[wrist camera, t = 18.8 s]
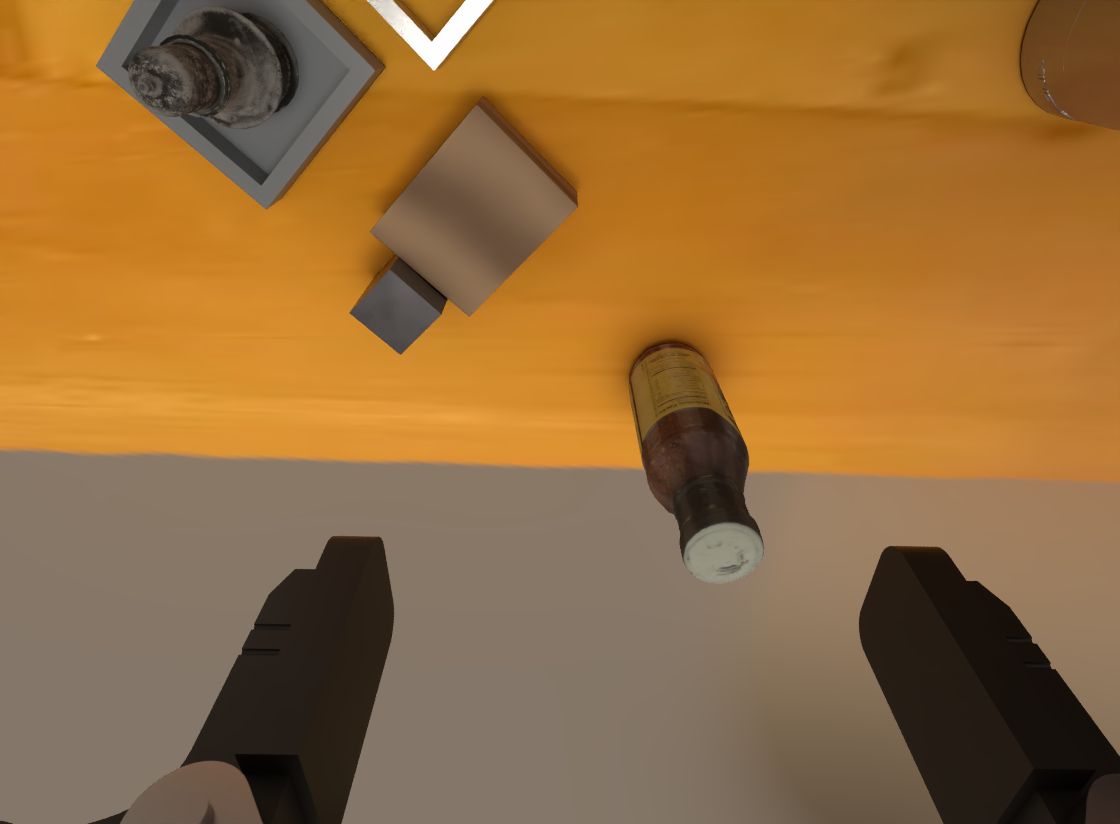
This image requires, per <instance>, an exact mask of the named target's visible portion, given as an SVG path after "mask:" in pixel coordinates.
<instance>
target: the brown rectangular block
mask: <svg viewBox="0 0 1120 824" xmlns="http://www.w3.org/2000/svg"><path fill="white" fill-rule="evenodd" d="M577 207H578V203H577V192H576V191H575V190H574V189H573V188H572V187H571V186H570V185H569V184H568V183H567V182H566V181H565V180H564V179H563V178H562V176H561V175H560V174H559V173H558V172H557V171H556V170H555V169H554V168H553V167H552V166H551V165H550V164H549V163H548V162H547V161H546V160H545V159H544V158H543V157H542V156H541V155H540V154H539V153H538V152H537V151H536V150H535V149H534V148H533V147H532V146H531V145H530V144H529V143H528V142H527V141H526V140H525V139H524V138H523V137H522V135H521V134H520V133H519V132H518V131H517V130H516V129H515V128H514V127H513V126H512V125H511V124H510V123H509V122H508V121H507V120H506V119H505V118H504V117H503V116H502V115H501V114H500V113H499V112H498V111H497V110H496V109H495V108H494V107H493V106H492V105H491V104H490V103H489V102H488V101H487V100H486V99H485V98H484V97H482V99H481V100H480V101H479V102H478V103H477V104H476V106H475V107H474V108H473V109H472V110H471V112H470V113H469V114H468V115H467V116H466V117H465V119H464V120H463V121H462V122H461V123H460V125H459V126H458V127H457V128H456V129H455V131H454V132H453V133H452V134H451V135H450V137H449V138H448V139H447V140H446V141H445V143H444V144H443V145H442V146H441V147H440V148H439V150H438V151H437V152H436V153H435V154H434V156H433V157H432V158H431V159H430V160H429V162H428V163H427V164H426V165H425V166H424V168H423V169H422V170H421V171H420V172H419V173H418V175H417V176H416V177H415V178H414V179H413V181H412V182H411V183H410V184H409V185H408V187H407V188H406V189H405V190H404V191H403V193H402V194H401V195H400V196H399V197H398V198H397V200H396V201H395V202H394V203H393V204H392V206H391V207H390V208H389V209H388V210H387V212H386V213H385V214H384V215H383V216H382V218H381V219H380V220H379V221H378V222H377V223H376V225H375V226H374V227H373V228H372V229H371V231H370V233H372V234H373V235H374V236H375V237H376V238H378V239H379V240H380V241H381V242H382V243H383V244H385V245H386V246H387V247H388V248H389V249H390V250H392V251H393V252H394V253H395V254H396V255H397V256H399V257H400V258H401V259H402V260H403V261H404V262H406V263H407V264H408V265H409V266H410V267H411V268H413V269H414V270H415V271H416V272H417V273H418V274H420V275H421V276H422V277H423V278H424V279H426V280H427V281H428V282H429V283H430V284H431V285H433V286H434V287H435V288H436V289H437V290H438V291H440V292H441V293H442V294H443V295H444V296H445V297H447V298H448V299H449V300H450V301H451V302H452V303H454V304H455V305H456V306H457V307H458V308H459V309H461V310H462V311H463V312H464V313H465V314H466V315H468V316H469V317H470V316H471V315H472V314H473V313H474V312H475V311H476V310H477V309H478V308H479V307H480V306H481V305H482V304H483V302H484V301H485V300H486V299H487V298H488V297H489V296H490V295H491V294H492V293H493V292H494V291H495V290H496V289H497V288H498V287H499V286H500V285H501V284H502V283H503V282H504V281H505V280H506V279H507V278H508V277H509V276H510V275H511V274H512V273H513V272H514V271H515V270H516V269H517V268H518V267H519V266H520V265H521V264H522V263H523V262H524V261H525V260H526V259H527V258H528V257H529V256H530V255H531V254H532V253H533V252H534V251H535V250H536V249H537V248H538V247H539V246H540V245H541V244H542V243H543V242H544V241H545V240H546V239H547V238H548V237H549V236H550V235H551V234H552V233H553V232H554V231H555V230H556V229H557V228H558V227H559V225H560V224H561V223H562V222H563V221H564V220H565V219H566V218H567V217H568V216H569V215H570V214H571V213H572V212H573V211H574V210H575V209H576V208H577Z"/></svg>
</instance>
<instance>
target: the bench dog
mask: <svg viewBox="0 0 1120 824" xmlns="http://www.w3.org/2000/svg"><path fill="white" fill-rule="evenodd" d="M447 299H448V298H447V297H445V296H444V295H443V294H442V293H441V292H440V291H438V290H437V289H436V288H435V287H434V286H433V285H431V284H430V283H429V282H428V281H427V280H426V279H424V278H423V277H422V276H421V275H420V274H418V273H417V272H416V271H415V270H414V269H413V268H411V267H410V266H409V265H408V264H407V263H406V262H404V261H403V260H402V259H401V258H400V257H399V256H397V255H396V254H395V256H394V257H393V258H392V259H391V260H390V261H389V262H388V263H387V264H386V265H385V266H384V268H383V269H382V270H381V271H380V272H379V273H378V274H377V275H376V276H375V277H374V278H373V280H372V281H371V283H370V284H369V286H368V287H367V288H366V290H365V291H364V293H363V294H362V296H361V297H360V298H359V300H358V301H357V303H356V304H355V306H354V307H353V309H352V310H351V311H350V314H351V315H353V316H354V317H355V318H356V319H357V320H359V321H360V322H361V323H362V324H363V325H365V326H366V327H367V328H368V329H370V330H371V331H372V332H373V333H374V334H376V335H377V336H378V337H379V338H381V339H382V340H383V341H384V342H385V343H387V344H388V345H389V346H390V347H392V348H393V349H394V350H395V351H396V352H398V353H399V354H400V355H401V354H402V353H403V352H404V351H405V350H406V349H407V348H408V347H409V346H410V345H411V344H412V343H413V342H414V341H415V340H416V339H417V338H418V337H419V336H420V335H421V334H422V333H423V332H424V331H425V330H426V329H427V328H428V327H429V326H430V325H431V324H432V323H433V322H434V321H435V320H436V319H437V318H438V317H439V316H440V315H441V314H442V311H443V309H444V306H445V304H446V301H447Z"/></svg>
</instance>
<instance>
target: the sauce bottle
mask: <svg viewBox="0 0 1120 824" xmlns="http://www.w3.org/2000/svg"><path fill="white" fill-rule="evenodd" d="M629 384H630V388H629V393H630V400H631V406H632V411H633V416H634V422H635V427H636V432H637V437H638V443H639V448H640V453H641V458H642V463H643V466H644V469H645V471H646V475H647V480H648V484H649V487H650V490H651V491H652V493H653V495H654V497H655V498H656V499H657V500H658V501H659V502H660V504H661V505H662V506H664V507H665V509H666V510H667V511H668V512H669V513H672V514H674V515H675V517H676V519H677V522H678V524H679V530H680V549H681V554H682V558H683V562H684V564H685V566H686V568H687V569H688V570H689V571H690V573H691V574H693V575H694V576H695V577H697V578H698V579H700V580H703V581H706V582H710V583H727V582H732V581H735V580H737V579H740V578H742V577H744V576H746V575H747V574H749V573H750V572H751V571H752V570H754V569H755V568H756V567H757V565H758V564H759V563H760V562H761V560H762V557H763V554H764V546H763V540H762V537H761V534H760V530H759V528H758V525H757V523H756V521H755V520H754V519H753V518H752V517H751V516H750V515H749V512H748V510H747V507H746V505H745V498H744V495H743V492H744V485H745V480H746V476H747V471H748V466H749V455H748V450H747V447H746V445H745V442H744V440H743V438H742V435H741V433H740V431H739V429H738V427H737V425H736V422H735V420H734V418H733V415H732V413H731V411H730V409H729V406H728V403H727V402H726V400H725V397H724V395H723V393H722V391H721V389H720V386H719V384H718V382H717V379H716V377H715V375H714V373H713V371H712V369H711V367H710V365H709V364H708V363H707V361H706V360H705V359H704V358H703V357H702V356H701V355H700V354H698V353H697V352H696V351H695V350H693V349H692V348H690V347H688V346H686V345H683V344H680V343H671V344H663V345H658V346H656V347H653V348H650V349H648V350H646V351H645V352H644V353H643V354H642V356H640V357H639V358H638V360H637V362H636V363H635V365H634V367H633V369H632V371H631V374H630V377H629Z"/></svg>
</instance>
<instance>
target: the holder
mask: <svg viewBox="0 0 1120 824" xmlns="http://www.w3.org/2000/svg"><path fill="white" fill-rule="evenodd" d="M367 1H368V2H369V3H370V4H371V5H372V6H373V7H374V8H375V9H376V10H377V11H378V13H379V14H380V15H381V16H382V17H383V18H384V19H385V20H386V21H387V22H388V23H389V24H390V25H391V26H392V27H393V28H394V29H395V30H396V31H397V32H398V33H399V35H400V36H401V37H402V38H403V39H404V40H405V41H406V42H407V43H408V44H409V45H410V46H411V47H412V48H413V49H414V50H415V51H416V52H417V53H418V54H419V56H420V57H421V58H422V59H423V60H424V61H425V62H426V63H427V64H428V65H429V66H430V67H431V68H432V69H433V70H434V71H435V70H437V69H439V68H440V67H441V66H442V65H443V63H444V62H445V61H446V60H447V59H448V57H449V56H450V55H451V54H452V53H453V51H454V50H455V49H456V48H457V47H458V45H459V44H460V43H461V42H462V40H463V39H464V38H465V37H466V36H467V34H468V33H469V32H470V31H471V30H472V28H473V27H474V26H475V25H476V24H477V22H478V21H479V20H480V19H481V18H482V16H483V15H484V14H485V13H486V12H487V10H488V9H489V8H490V7H491V6H492V4H493V3H494V2H495V1H496V0H466V1H465V2H464V3H463V4H462V6H461V7H460V8H459V9H458V11H457V12H456V13H455V14H454V15H453V17H452V18H451V19H450V20H449V22H448V23H447V24H446V25H445V27H444V28H443V29H442V30H441V32H440V33H439V34H438V35H437V36H436V38H435V37H434V36H433V35H432V34H431V33H430V31H429V30H428V29H427V28H426V27H425V26H424V25H423V24H422V23H421V22H420V21H419V20H418V19H417V17H416V16H415V15H414V14H413V13H412V12H411V11H410V10H409V9H408V8H407V7H406V6H405V5H404V4H403V2H402V1H401V0H367Z"/></svg>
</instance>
